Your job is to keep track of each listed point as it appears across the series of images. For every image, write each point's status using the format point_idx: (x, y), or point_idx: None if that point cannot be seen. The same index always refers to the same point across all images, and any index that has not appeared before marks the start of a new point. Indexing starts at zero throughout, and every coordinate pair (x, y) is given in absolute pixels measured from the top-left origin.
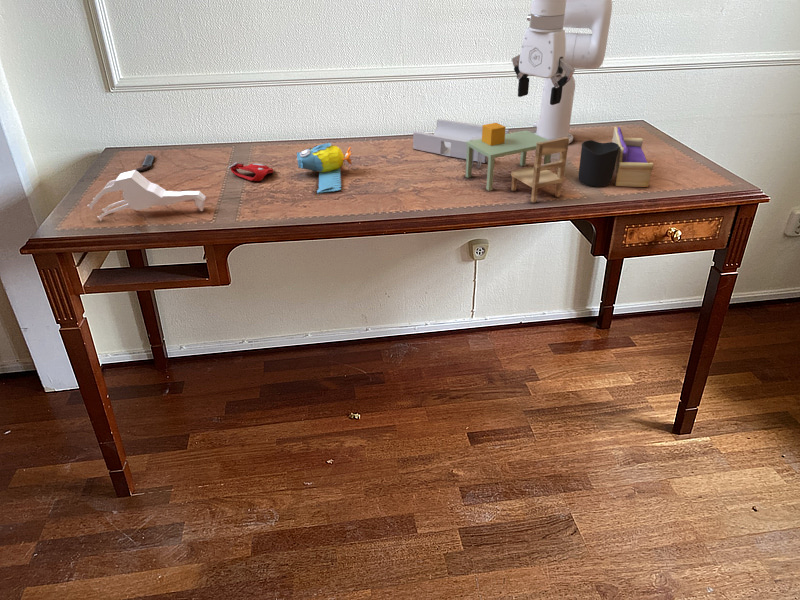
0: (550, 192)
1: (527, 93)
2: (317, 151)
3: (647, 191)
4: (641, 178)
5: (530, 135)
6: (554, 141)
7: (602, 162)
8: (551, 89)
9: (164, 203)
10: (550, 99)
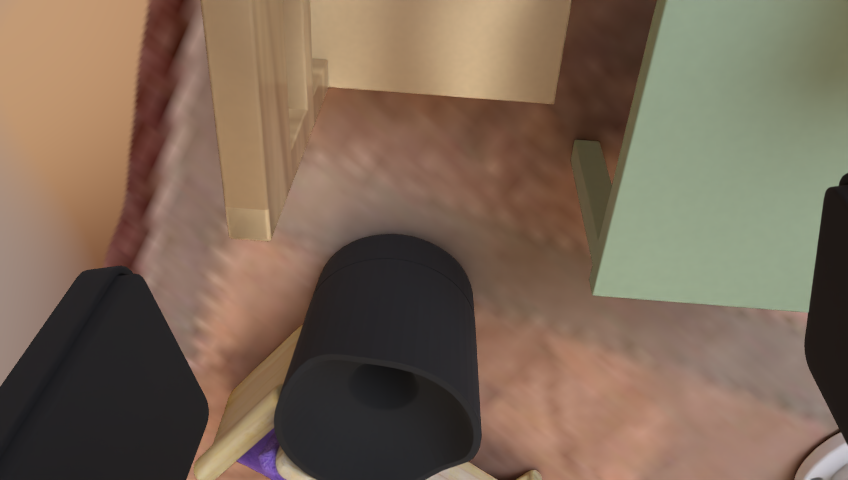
0: None
1: (810, 358)
2: None
3: (201, 367)
4: (238, 404)
5: (809, 272)
6: (212, 87)
7: (299, 345)
8: (10, 469)
9: None
10: (97, 317)
